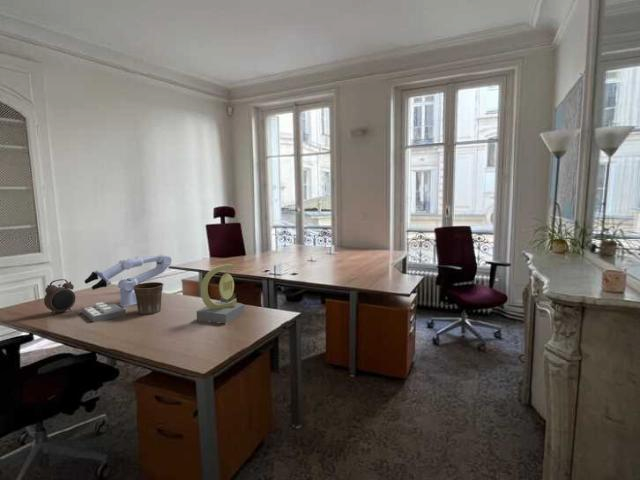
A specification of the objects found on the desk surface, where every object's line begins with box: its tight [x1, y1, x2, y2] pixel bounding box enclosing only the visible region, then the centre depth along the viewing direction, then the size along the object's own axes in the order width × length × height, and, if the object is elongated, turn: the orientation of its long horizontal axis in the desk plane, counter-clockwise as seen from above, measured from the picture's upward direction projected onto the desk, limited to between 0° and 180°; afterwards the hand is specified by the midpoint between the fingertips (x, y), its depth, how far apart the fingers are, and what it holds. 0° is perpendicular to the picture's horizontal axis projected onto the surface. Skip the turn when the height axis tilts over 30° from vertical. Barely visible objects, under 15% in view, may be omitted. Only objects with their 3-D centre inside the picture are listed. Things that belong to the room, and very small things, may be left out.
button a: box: [94, 302, 105, 308], centre depth 206 cm, size 4×4×3 cm
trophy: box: [196, 264, 245, 323], centre depth 193 cm, size 19×19×30 cm
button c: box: [102, 307, 112, 313], centre depth 197 cm, size 4×4×3 cm
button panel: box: [81, 301, 127, 323], centre depth 201 cm, size 16×24×3 cm, turn 47°
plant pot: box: [133, 281, 164, 315], centre depth 205 cm, size 16×16×16 cm
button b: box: [99, 303, 108, 311], centre depth 201 cm, size 4×4×3 cm
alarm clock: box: [43, 278, 76, 316], centre depth 204 cm, size 14×7×20 cm, turn 151°
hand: (88, 285), depth 203 cm, fingers open, 7 cm apart
